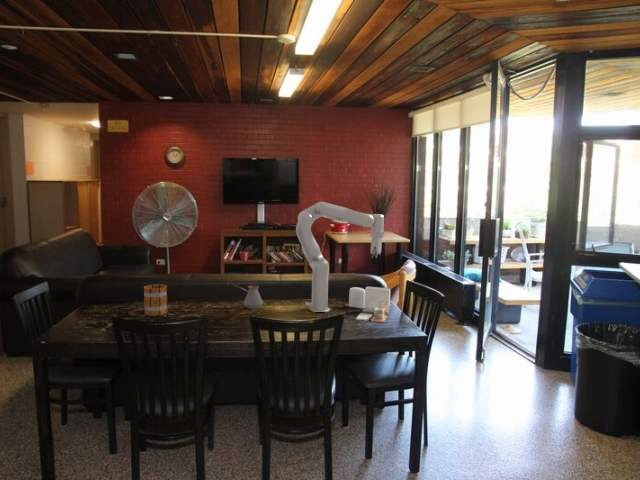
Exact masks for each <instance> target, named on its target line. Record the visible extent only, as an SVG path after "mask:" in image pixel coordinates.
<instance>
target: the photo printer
mask: <svg viewBox="0 0 640 480" xmlns="http://www.w3.org/2000/svg"><path fill="white" fill-rule="evenodd" d="M348 294H349V295H348V307H349V308H356V309H363V310H364V309H365V289H364V288H362V287H354V286H353V287H350V288H349V292H348Z"/></svg>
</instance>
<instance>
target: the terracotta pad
mask: <svg viewBox="0 0 640 480" xmlns="http://www.w3.org/2000/svg"><path fill="white" fill-rule="evenodd" d="M387 318H388V315H384V318H383V319H375V318H374V316H372V317H371V318H370V322H372V323H384V322H385V321H386V319H387Z"/></svg>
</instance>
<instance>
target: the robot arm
mask: <svg viewBox="0 0 640 480" xmlns="http://www.w3.org/2000/svg"><path fill="white" fill-rule="evenodd" d="M321 217H323V218H327V219H329V220H334V221H339V222H342V223H346V224H347V223H348V224H352V225H356V226H361V227H364V228H370V238H371V243H370V254H371V265H378V263H380V262H381V258H382V257H381V253H382V243H383V242H382V241H383V240H382V238H383V239H384V234H385V233H384V230H385V229H384V227H385V216H384V214H382V213H380V214H379V213H374V214H370V213H364V212H360V211H356V210H353V209H350V208H347V207H345V206H340V205H337V204H333V203H329V202H325V201H319V202H317V203H314V204H313V205H311V206H309V207H307V208H306V209H304V210H302V211H300V212H299V213H298V215H297V222H296V227H295V233H296V236H297V238H298V240H299V241H298V242H299V243H300V244H301V250H302V253H303V255H304V257H305V258H306V260H307V262H308V265H309V266H310V268H311V269H312V275H311V277H312V278H311V301H310V302H307V301H305V302H304V306H306V307H308V311H309V310H311V311H314V312H313V313H315V312H325V313H329V312H330V311H331V308H330V307H328V306H329V305H328V300H329V275H330V264H329V261H328V260H327V259H325V258H324V256H323V254H322V252H321V249H320V248H321V247H320V246H319V243H318V242H317V241H316V239H315V237H314V235H313V233H312V226H313V224H314V221H316V220H317V219H319V218H321ZM311 311H310V312H311Z"/></svg>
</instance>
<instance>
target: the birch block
mask: <svg viewBox="0 0 640 480" xmlns="http://www.w3.org/2000/svg"><path fill="white" fill-rule="evenodd" d="M384 311H385V308H375V309H374V314H373V317H374V318H375V319H383V318H384Z"/></svg>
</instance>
